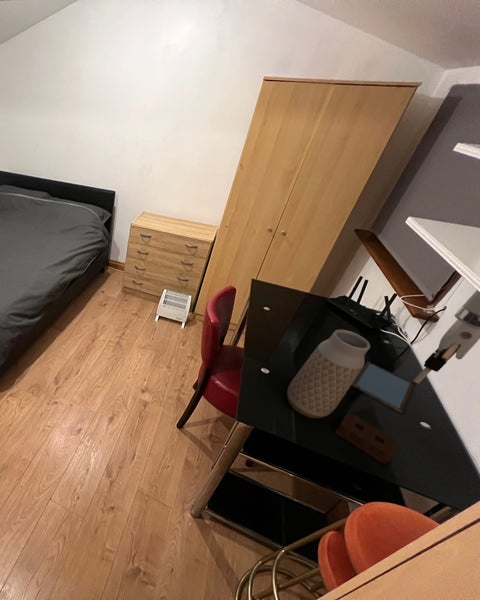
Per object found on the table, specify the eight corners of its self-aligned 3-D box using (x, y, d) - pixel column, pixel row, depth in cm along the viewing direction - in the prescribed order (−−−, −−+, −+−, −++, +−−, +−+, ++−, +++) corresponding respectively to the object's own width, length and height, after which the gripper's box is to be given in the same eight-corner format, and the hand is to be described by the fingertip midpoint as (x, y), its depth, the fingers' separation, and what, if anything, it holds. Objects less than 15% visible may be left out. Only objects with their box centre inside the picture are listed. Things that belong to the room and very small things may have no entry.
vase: (336, 420, 108) (392, 352, 91) (303, 426, 105) (355, 357, 88) (304, 388, 119) (349, 322, 102) (273, 393, 116) (314, 326, 99)
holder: (391, 449, 100) (399, 441, 98) (385, 464, 95) (393, 457, 93) (342, 419, 108) (348, 411, 106) (334, 432, 104) (341, 424, 101)
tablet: (366, 362, 134) (367, 361, 134) (412, 385, 125) (413, 383, 124) (351, 386, 122) (352, 384, 121) (400, 413, 112) (402, 411, 112)
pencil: (417, 384, 100) (447, 353, 93) (416, 386, 99) (446, 355, 92) (411, 381, 101) (440, 350, 93) (410, 383, 100) (440, 352, 93)
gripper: (497, 336, 79) (444, 387, 89) (497, 314, 88) (450, 363, 98) (455, 320, 83) (410, 371, 94) (460, 302, 92) (418, 349, 102)
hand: (430, 366), depth 96 cm, fingers closed on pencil, 1 cm apart
